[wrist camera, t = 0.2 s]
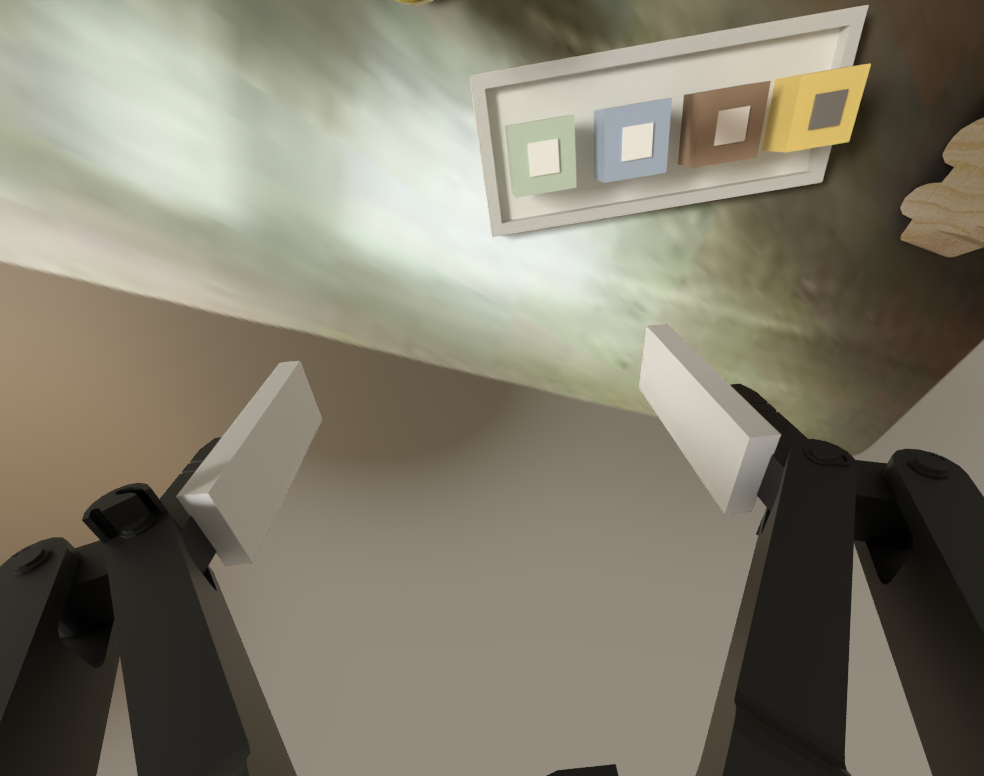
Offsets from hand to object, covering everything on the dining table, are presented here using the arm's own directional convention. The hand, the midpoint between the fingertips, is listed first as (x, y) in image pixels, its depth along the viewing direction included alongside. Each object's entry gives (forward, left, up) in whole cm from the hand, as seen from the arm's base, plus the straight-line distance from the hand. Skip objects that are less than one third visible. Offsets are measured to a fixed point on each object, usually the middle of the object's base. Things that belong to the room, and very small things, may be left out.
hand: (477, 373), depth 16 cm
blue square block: (-5, +13, -24) cm, 28 cm away
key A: (-5, +27, -24) cm, 37 cm away
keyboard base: (-5, +17, -28) cm, 33 cm away
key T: (-5, +20, -24) cm, 32 cm away
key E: (-5, +7, -24) cm, 26 cm away
